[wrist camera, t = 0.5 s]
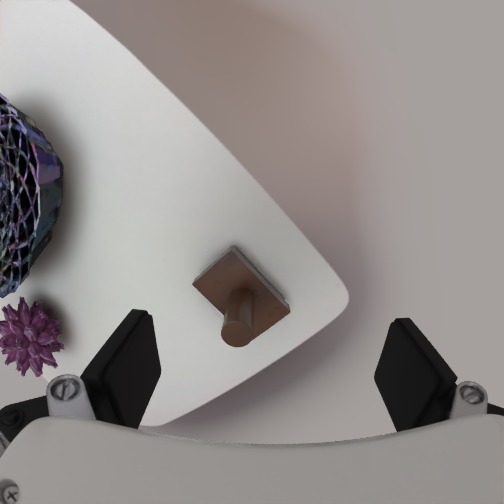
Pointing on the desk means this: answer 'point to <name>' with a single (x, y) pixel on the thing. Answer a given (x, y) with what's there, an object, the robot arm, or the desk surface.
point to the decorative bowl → (25, 195)
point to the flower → (29, 337)
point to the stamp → (241, 297)
